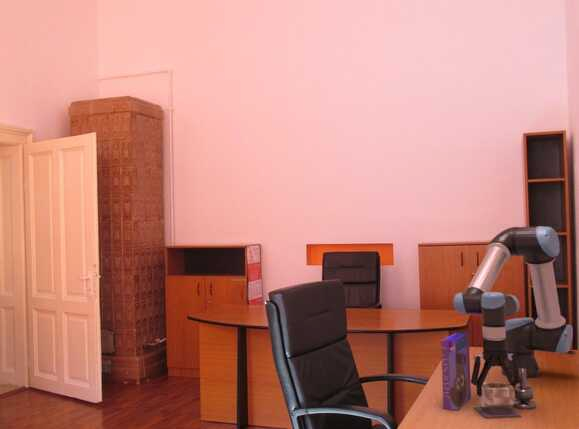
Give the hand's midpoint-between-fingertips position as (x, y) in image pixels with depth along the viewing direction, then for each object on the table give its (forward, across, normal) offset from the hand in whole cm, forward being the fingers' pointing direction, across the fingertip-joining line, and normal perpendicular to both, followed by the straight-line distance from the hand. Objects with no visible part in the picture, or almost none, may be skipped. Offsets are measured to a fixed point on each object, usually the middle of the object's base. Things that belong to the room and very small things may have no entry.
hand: (496, 404), depth 206 cm
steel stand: (+3, -12, -6) cm, 14 cm away
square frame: (-2, 0, 0) cm, 2 cm away
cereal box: (+3, +10, -12) cm, 16 cm away
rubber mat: (+3, 0, 0) cm, 3 cm away
